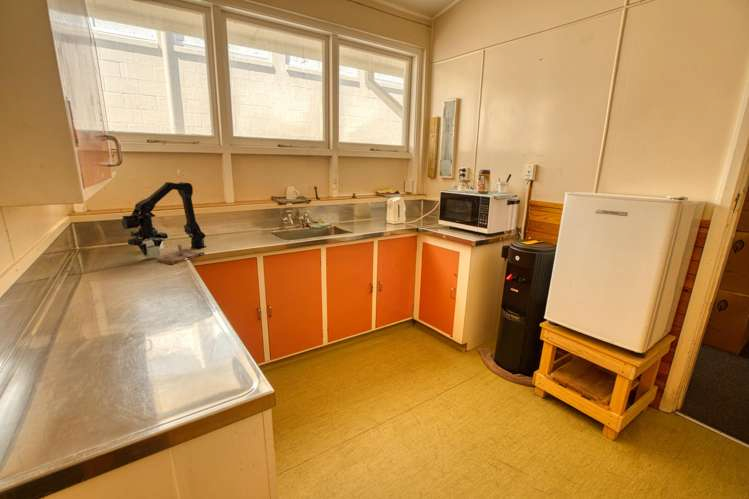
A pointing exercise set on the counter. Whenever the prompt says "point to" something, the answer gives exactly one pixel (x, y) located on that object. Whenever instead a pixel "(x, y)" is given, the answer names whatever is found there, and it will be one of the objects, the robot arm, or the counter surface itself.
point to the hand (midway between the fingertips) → (151, 253)
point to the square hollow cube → (152, 251)
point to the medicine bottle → (153, 242)
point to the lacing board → (180, 256)
